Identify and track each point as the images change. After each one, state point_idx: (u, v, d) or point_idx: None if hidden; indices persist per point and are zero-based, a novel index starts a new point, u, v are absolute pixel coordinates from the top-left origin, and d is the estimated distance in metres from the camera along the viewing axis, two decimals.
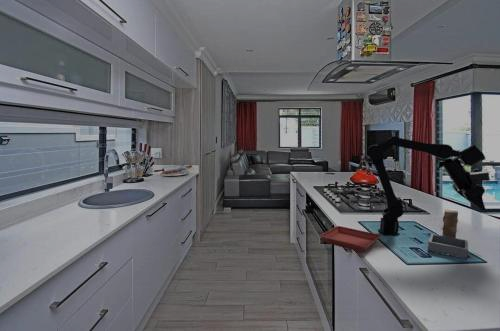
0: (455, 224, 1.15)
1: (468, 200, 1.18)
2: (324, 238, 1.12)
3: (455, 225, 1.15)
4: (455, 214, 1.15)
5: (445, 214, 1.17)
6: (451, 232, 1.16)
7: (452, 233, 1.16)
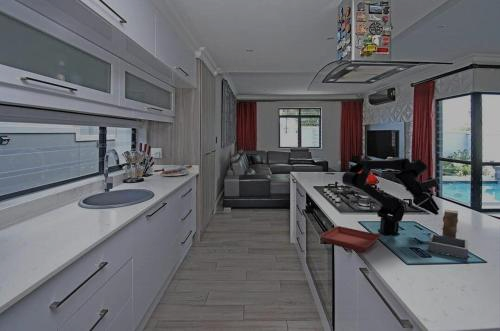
0: (455, 224, 1.15)
1: None
2: (324, 238, 1.12)
3: (455, 225, 1.15)
4: (455, 214, 1.15)
5: (445, 214, 1.17)
6: (451, 232, 1.16)
7: (452, 233, 1.16)
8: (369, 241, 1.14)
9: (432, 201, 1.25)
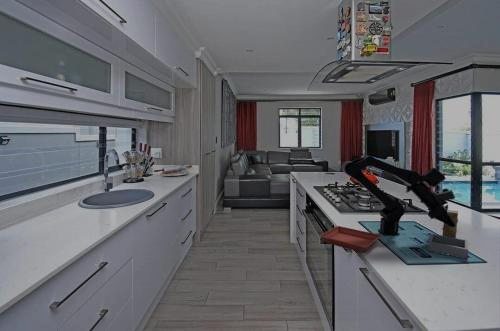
0: (455, 224, 1.15)
1: None
2: (324, 238, 1.12)
3: (455, 225, 1.15)
4: (455, 214, 1.15)
5: None
6: (451, 232, 1.16)
7: (452, 233, 1.16)
8: (369, 241, 1.14)
9: None
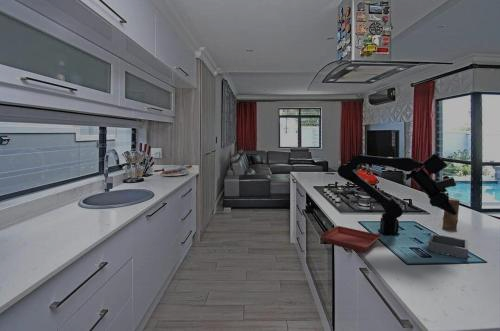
0: (456, 212, 1.11)
1: None
2: (324, 238, 1.12)
3: None
4: (457, 202, 1.11)
5: None
6: (452, 220, 1.12)
7: (453, 221, 1.12)
8: (369, 241, 1.14)
9: None
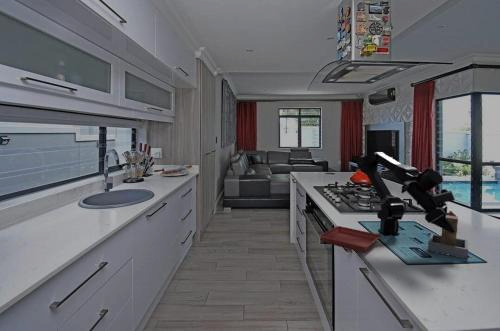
0: (455, 231, 1.04)
1: None
2: (324, 238, 1.12)
3: (455, 232, 1.04)
4: (455, 220, 1.04)
5: None
6: (450, 240, 1.05)
7: (451, 241, 1.05)
8: (369, 241, 1.14)
9: None
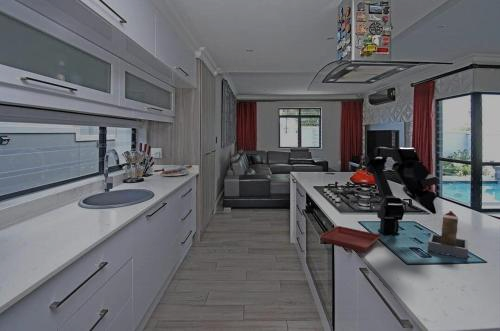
0: (455, 231, 1.04)
1: None
2: (324, 238, 1.12)
3: (455, 232, 1.04)
4: (455, 220, 1.04)
5: (444, 220, 1.06)
6: (450, 240, 1.05)
7: (451, 241, 1.05)
8: (369, 241, 1.14)
9: None
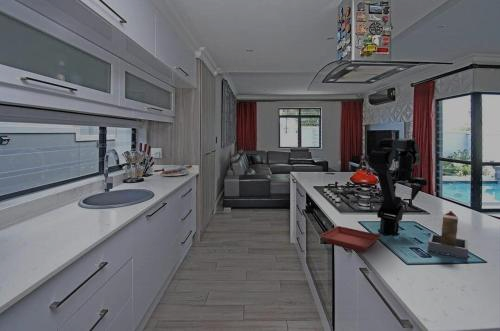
0: (455, 231, 1.04)
1: None
2: (324, 238, 1.12)
3: (455, 232, 1.04)
4: (455, 220, 1.04)
5: (444, 220, 1.06)
6: (450, 240, 1.05)
7: (451, 241, 1.05)
8: (369, 241, 1.14)
9: None
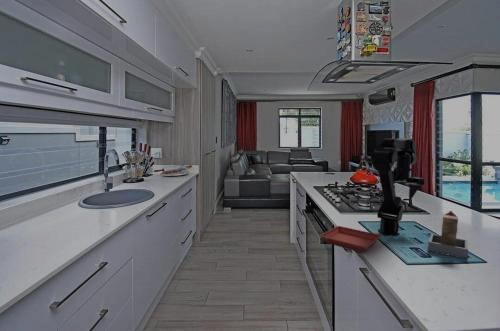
0: (455, 231, 1.04)
1: None
2: (324, 238, 1.12)
3: (455, 232, 1.04)
4: (455, 220, 1.04)
5: (444, 220, 1.06)
6: (450, 240, 1.05)
7: (451, 241, 1.05)
8: (369, 241, 1.14)
9: None
